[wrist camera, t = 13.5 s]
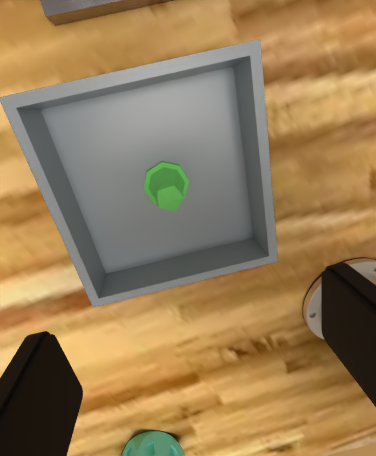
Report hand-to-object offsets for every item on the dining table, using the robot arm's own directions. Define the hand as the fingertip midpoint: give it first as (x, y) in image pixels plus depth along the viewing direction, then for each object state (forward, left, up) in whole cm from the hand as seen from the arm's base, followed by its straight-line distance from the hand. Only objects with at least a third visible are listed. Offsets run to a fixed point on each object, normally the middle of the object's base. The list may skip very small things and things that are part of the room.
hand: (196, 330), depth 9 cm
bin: (0, -1, -19) cm, 19 cm away
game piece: (0, -1, -18) cm, 18 cm away
